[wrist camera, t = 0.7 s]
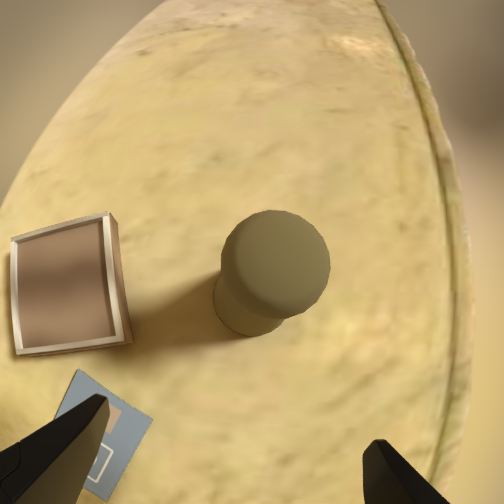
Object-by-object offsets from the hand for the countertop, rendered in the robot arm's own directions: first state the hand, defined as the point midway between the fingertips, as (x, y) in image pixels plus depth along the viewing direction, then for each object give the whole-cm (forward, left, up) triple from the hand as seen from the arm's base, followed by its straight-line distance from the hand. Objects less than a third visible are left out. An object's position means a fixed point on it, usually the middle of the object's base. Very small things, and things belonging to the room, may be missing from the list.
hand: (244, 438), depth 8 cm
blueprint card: (-12, +3, -13) cm, 18 cm away
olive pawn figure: (+6, +4, -14) cm, 15 cm away
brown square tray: (-5, +14, -13) cm, 20 cm away
